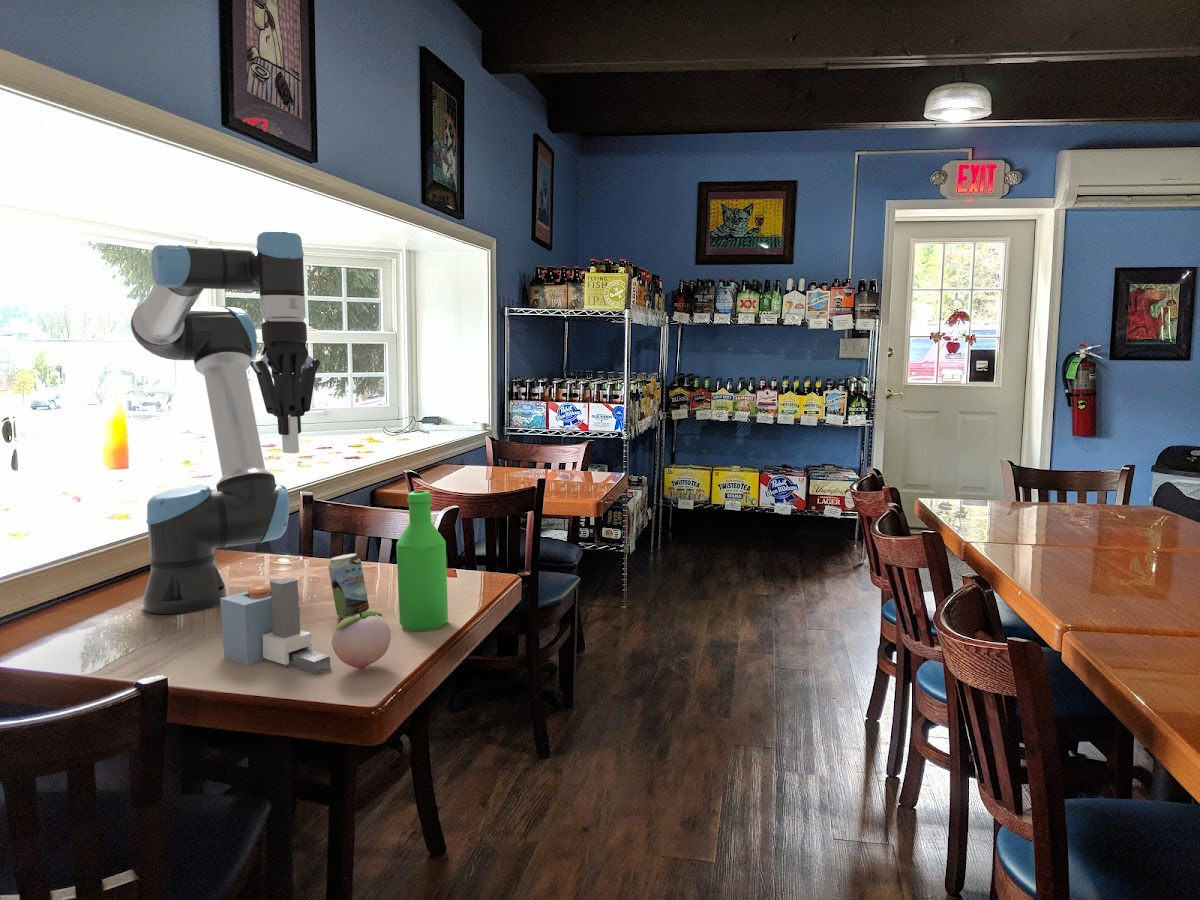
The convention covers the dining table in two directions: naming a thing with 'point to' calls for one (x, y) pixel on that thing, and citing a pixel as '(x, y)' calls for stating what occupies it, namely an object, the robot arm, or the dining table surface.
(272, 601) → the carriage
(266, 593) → the plunger
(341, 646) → the decorative fruit
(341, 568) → the beverage can
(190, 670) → the dining table surface
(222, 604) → the housing
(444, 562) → the bottle
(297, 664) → the rail
